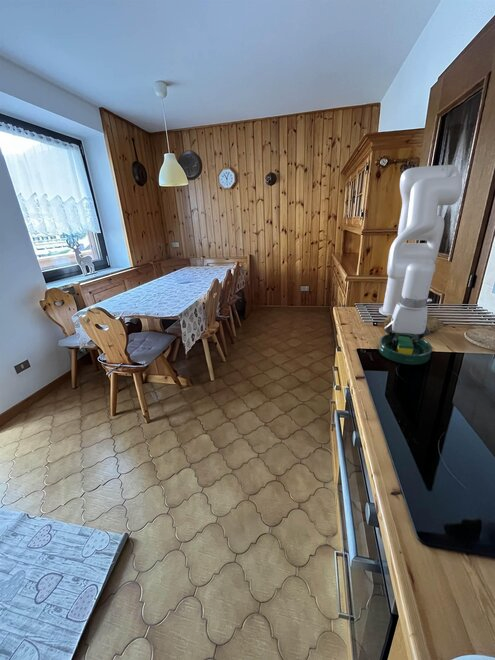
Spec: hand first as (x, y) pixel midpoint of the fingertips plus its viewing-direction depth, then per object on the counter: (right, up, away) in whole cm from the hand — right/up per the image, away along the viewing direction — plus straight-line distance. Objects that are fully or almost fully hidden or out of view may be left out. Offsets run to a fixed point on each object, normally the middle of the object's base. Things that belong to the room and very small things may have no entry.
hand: (402, 348), depth 101 cm
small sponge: (0, 0, 0) cm, 0 cm away
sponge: (+12, +6, +15) cm, 20 cm away
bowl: (0, -2, -1) cm, 2 cm away
